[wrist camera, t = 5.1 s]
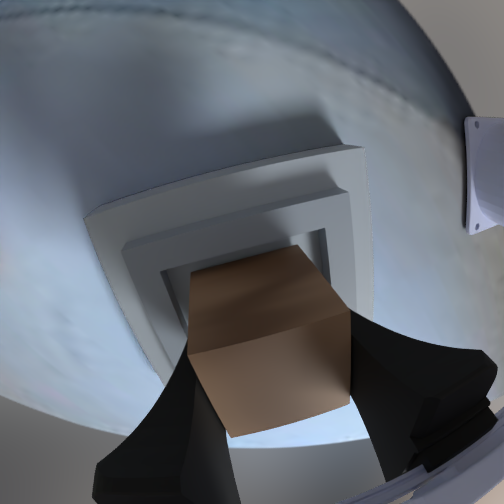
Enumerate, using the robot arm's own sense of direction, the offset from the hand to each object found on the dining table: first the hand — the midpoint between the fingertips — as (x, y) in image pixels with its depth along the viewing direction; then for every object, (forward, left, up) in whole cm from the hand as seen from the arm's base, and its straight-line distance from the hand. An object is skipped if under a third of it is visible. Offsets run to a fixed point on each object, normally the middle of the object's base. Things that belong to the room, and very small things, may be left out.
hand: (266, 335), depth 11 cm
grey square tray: (0, 0, -4) cm, 4 cm away
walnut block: (0, 0, -2) cm, 2 cm away
